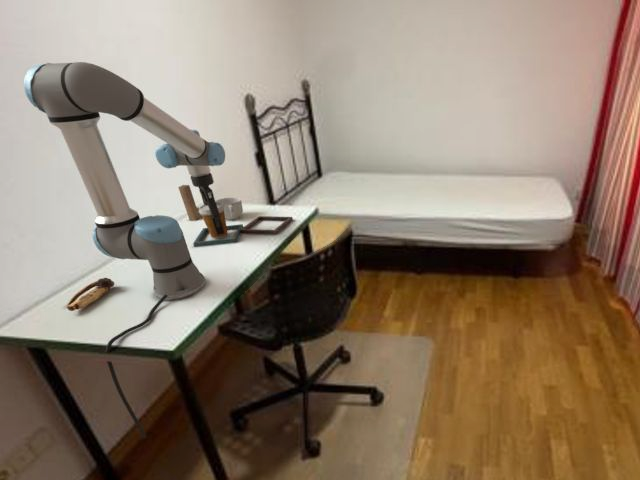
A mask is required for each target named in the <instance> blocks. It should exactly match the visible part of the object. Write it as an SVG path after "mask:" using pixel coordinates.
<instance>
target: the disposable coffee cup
mask: <svg viewBox="0 0 640 480" xmlns="http://www.w3.org/2000/svg"><path fill="white" fill-rule="evenodd" d="M216 205H217V208H218V211H219V214H220V216H221V218H220V220H221V223H222V227H223V230H224V234H220V235H217V232H216V229H215V226H214V223H213V220H211V218H212V215H211V212H210V209H209V207H208V205H207V206H206V205H204V204H203V205H200V206H199V213H200V214H201V215H202V217H201V218H202V220H203V222H204V224H205V226H206V228H208V230H209V232H208V233H209V235H210V237H211V238H213V239H221V238H224V237H226V236H227V235H228V234H229V233H228V230H227V226H228V225H227V221H226V219H225V214H224V206H223V205H222V204H221V203H216ZM215 216H216V215H215Z"/></svg>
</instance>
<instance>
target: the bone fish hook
mask: <svg viewBox="0 0 640 480" xmlns="http://www.w3.org/2000/svg"><path fill="white" fill-rule="evenodd" d="M114 286H115V281H113V280H112V279H111V278H108V277H102V278H99V279H97V280H96V281H94V282H91V283H89V284H88V285H86V286H84V287H83V288H81V289H79V291H77V292H76V293H75V294H74V295H73V296H72V297H71V298H70V300H69V301H68V303H67V305H66V308H67V310H68V311H69V312H74V311H76V310H80V309H81V310H82V309H84V308H85V307H87V306H88V305H90V304H92V303H94V302H95V301H97V300H98V299H100V298H101V297H102V296H104V295H105V294H106V293H108V292H109V291H110V290H111V288H113V287H114ZM93 288H94V289H93ZM91 289H92V290H91ZM88 291H89V292H88Z"/></svg>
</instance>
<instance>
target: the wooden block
mask: <svg viewBox="0 0 640 480" xmlns="http://www.w3.org/2000/svg"><path fill="white" fill-rule="evenodd" d="M178 192H179V194H180V197H181V199H182V202H183V205H184V208H185V211H186V215H187V217H188V221H198V220H199V219H200V218H202V215H201V214H200V213H199V208H200V206H199V207H197V205H196V202H195V199H194V196H193V192H192V189H191V186H190V185H189V184H182V185H179V186H178Z"/></svg>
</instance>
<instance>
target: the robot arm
mask: <svg viewBox="0 0 640 480" xmlns="http://www.w3.org/2000/svg"><path fill="white" fill-rule="evenodd" d="M23 88H24V92H25V95H26V98H27V99H28V101H29V102H30V103H31V105H32V106H34V108H37V110H38V111H40V112H42V113H44V114H46V117H47V118H48V121H49V123H50V125H53V126H55V127H56V128H57V129H59V130H60V132H61V134H62V137H63V138H64V141H65V143H66V145H67V148H68V150H69V153H70V154H71V157H72V159H73V161H74V163H75V166H76V169H77V171H78V173H79V175H80V178H81V180H82V182H83V185H84V187H85V188H86V191H87V193H88V195H89V199H90V200H91V202H92V204H93V207H94V209H95V212H96V217H95V218H94V220H93V221H94V224H95V225H94V227H93V229H92V230H93V233H92V240H93V243H94V245H95V247H96V248H97V249H98V250H99V252H101V254H103V255H105V256H107V257H110V258H114V259H118V260H141V261H148V264H149V265H150V268H151V270H152V275H153V277H152V279H153V292H154V294H155V297H156V298H157V299H159V300H158V301H157V302H156V303H155V304H154V306H153V307H152V308H151V309H150V311H149V313H148V315H147V318H146V319H145V320H143V321H142V322H140V323H138V324H136V325H134V326H131V327H130V328H127V329H125V330H123V331H121V332H120V333H119V334H117V335H115V336H113V337H112V338H111V339H110V340H109V341H108V342H107V344H106V347H105V354H108V353H109V352H111V347H112V345H113V343H114V342H116V341H117V340H119V339H120V338H122V337H123V336H125V335H127V334H128V333H130V332H133V331H135V330H137V329H139V328H141V327H143V326H145V325H146V324H148V323H149V322H150V321H151V319H152V318H153V314H154V312H156V310H157V309H158V308H159V307H160V305H162V303H163V302H164V301H175V300H182V299H185V298H188V297H191V296H193V295H196V294H197V293H199V292H201V291H202V290H203V289H204V288H205V287H206V285H207V280H206V278H205V276H204V274H203V273H201V272H200V270H199V269H198V267H197V266H196V264H195V263H194V262H193V259H192V257H191V253H190V250H189V247H188V245H187V242H186V238H185V235H184V232H183V230H182V228H181V226H180V223H179V222H178V220H177V219H175V218H173V217H172V216H168V215H163V214H162V215H160V214H159V215H147V216H145V217H140V215H139V213H138V211H136V210H135V209H133V208H131V207H130V205H129V202H128V199H127V197H126V195H125V192H124V190H123V187H122V184H121V182H120V180H119V177H118V174H117V172H116V169H115V167H114V164H113V162H112V160H111V157H110V154H109V151H108V149H107V147H106V144H105V142H104V139H103V137H102V134H101V132H100V129H99V126H98V123H99V121H100V119H101V115H100V113H102V114H108V115H111V116H114V117H116V118H118V119H119V120H122V121H124V122H132V123H133V124H134V125H136V126H138V127H140V128H141V129H143V130H145V131H147V132H148V133H149V134H151V135H153V136H155V137H157V138H158V139H160V140H161V141H163V142H165V143H163V144H162V145H160V146H158V147H157V148H156V149H155V152H154V154H155V155H154V156H155V158H156V161H157V162H158V164H159V165H160V166H161V167H163V168H165V169H174V168H177V167H179V166H183V167H184V166H186V168H187V171H188V175H189V176H190V180H191V183H192V186H193V187H195V188H198V189H199V190H198V191H199V193H200V196H201V199H202V202H203V205H206V206H207V205H208V207H209V209H210V212H211V215H212V218H211V220H213V223H214V226H215V229H216V232H217V235H220V234H224V230H223V227H222V223H221V220H220V218H221V216H220V214H219V211H218V208H217V205H216V202H215V201H216V199H215V196H214V192H213V190H212V188H211V187H210V186H212V185H213V184H214V182H215V181H214V177H213V174H212V173H211V167H219V166H222V165H223V164H225V161H226V151H225V148H224V146H223V145H222V144H221V143H219V142H216V141H215V142H214V141H210V142H209V141H207V140H206V139H204V138H203V137H201V135H200V132H199V131H198V130H197V129H190V128H189V127H187V126H185V125H184V124H183V123H181V122H180V121H178V120H177V119H176V118H174V117H172V115H170V114H168V113H167V112H165V110H163V109H161V108H160V107H158V106H157V105H156V104H154V103H153V102H151V101H150V100H149V99H147V98H146V97H145V94H144V93H143V91H142V90H140V89H139V88H138V87H136V86H135V85H134V84H132V83H131V82H129V81H128V80H126V79H125V78H123V77H122V76H120V75H118V74H116V73H115V72H112V71H111V70H109V69H107V68H104V67H102V66H101V65H96V64H94V63H90V62H85V61H75V62H55V63H54V62H53V63H51V62H47V63H42V64H37V65H34V66H32V67H30V68H29V69H28V70H27V72H26V75H25V76H24V78H23ZM215 215H216V216H215ZM106 363H107V366H108V369H109V372H110V375H111V378H112V381H113V383H114V386H115V388H116V390H117V392H118V395H119V398H121V400H122V403H123V405H124V407H125V408H126V409H127V412H128V414H129V415H130V417H131V418H132V420H133V422H134V424H135V426H136V427H137V429H138V430H139V434H140V435H141V436H142V437H141V438H142V439H146V438H147V434H146V432H145V431H144V428H143V427H142V424H141V422H140V421H139V419H138V418H137V416H136V414H135V412H134V411H133V409H132V407H131V405H130V403H129V402H128V399H127V398H126V396H125V394H124V392H123V389H122V387H121V385H120V382H119V380H118V377H117V374H116V372H115V369H114V368H115V367H114V365H113V363H112V361H106Z"/></svg>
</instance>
